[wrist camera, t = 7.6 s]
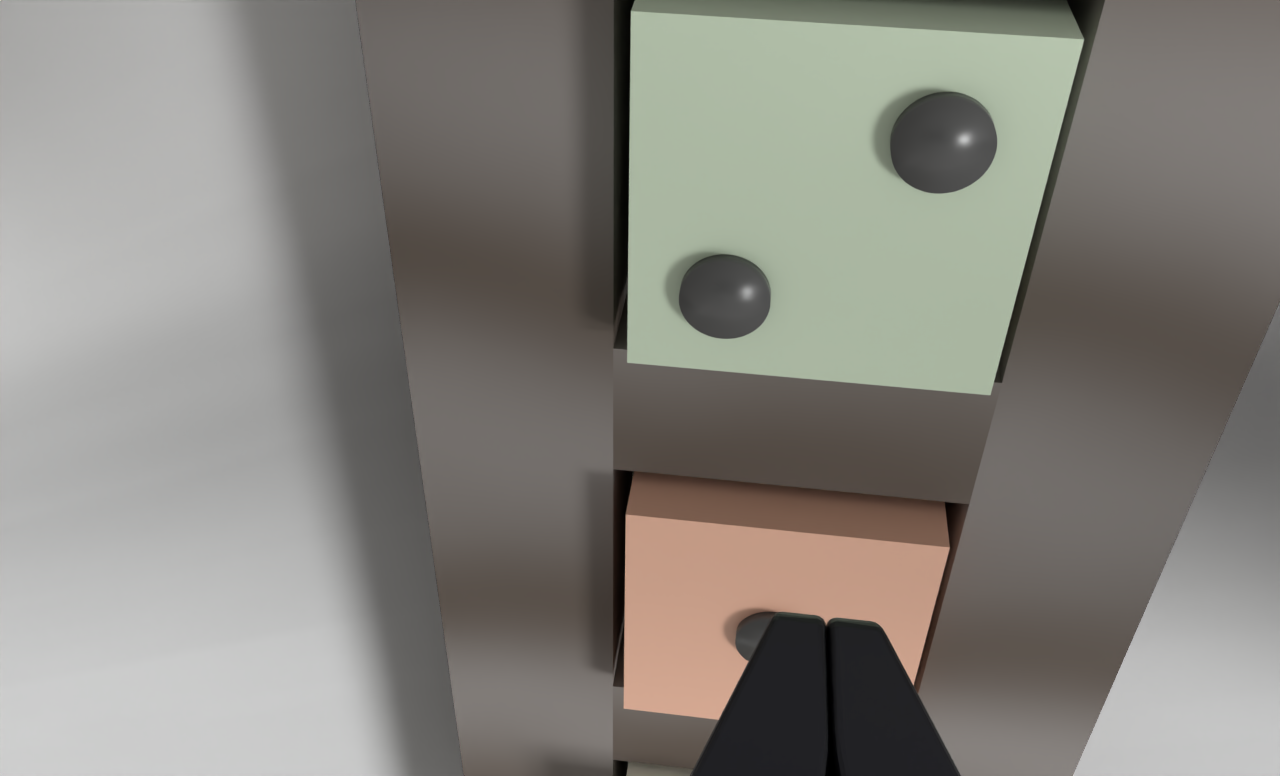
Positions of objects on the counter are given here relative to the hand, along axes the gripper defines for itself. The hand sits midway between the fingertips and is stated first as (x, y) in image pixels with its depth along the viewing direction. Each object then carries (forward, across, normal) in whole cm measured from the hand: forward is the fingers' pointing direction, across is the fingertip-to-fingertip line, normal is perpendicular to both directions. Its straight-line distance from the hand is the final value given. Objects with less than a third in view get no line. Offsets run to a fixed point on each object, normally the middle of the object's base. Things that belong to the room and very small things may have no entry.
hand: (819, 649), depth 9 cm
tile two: (+11, 0, 0) cm, 11 cm away
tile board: (+10, 0, +8) cm, 13 cm away
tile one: (+11, 0, +8) cm, 14 cm away
